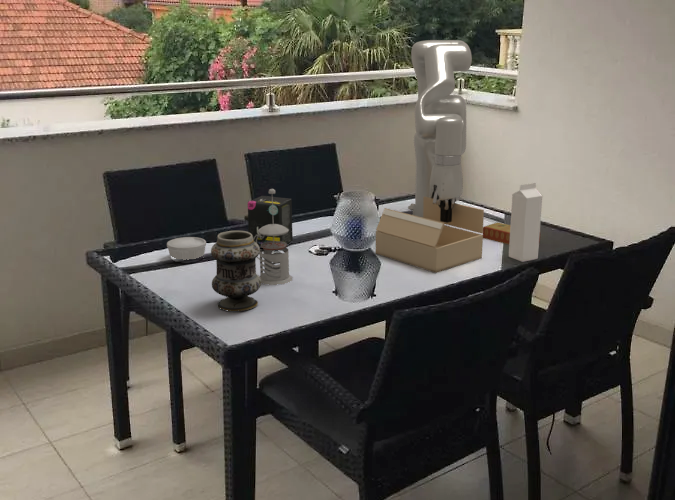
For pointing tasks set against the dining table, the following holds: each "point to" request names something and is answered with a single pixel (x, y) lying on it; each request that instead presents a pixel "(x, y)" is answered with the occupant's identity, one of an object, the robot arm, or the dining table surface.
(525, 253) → the milk
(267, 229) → the french press
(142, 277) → the dining table surface
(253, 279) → the apothecary jar
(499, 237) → the carton
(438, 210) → the far flap
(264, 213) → the tampon box
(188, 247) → the ramekin
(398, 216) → the near flap
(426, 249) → the kraft box
